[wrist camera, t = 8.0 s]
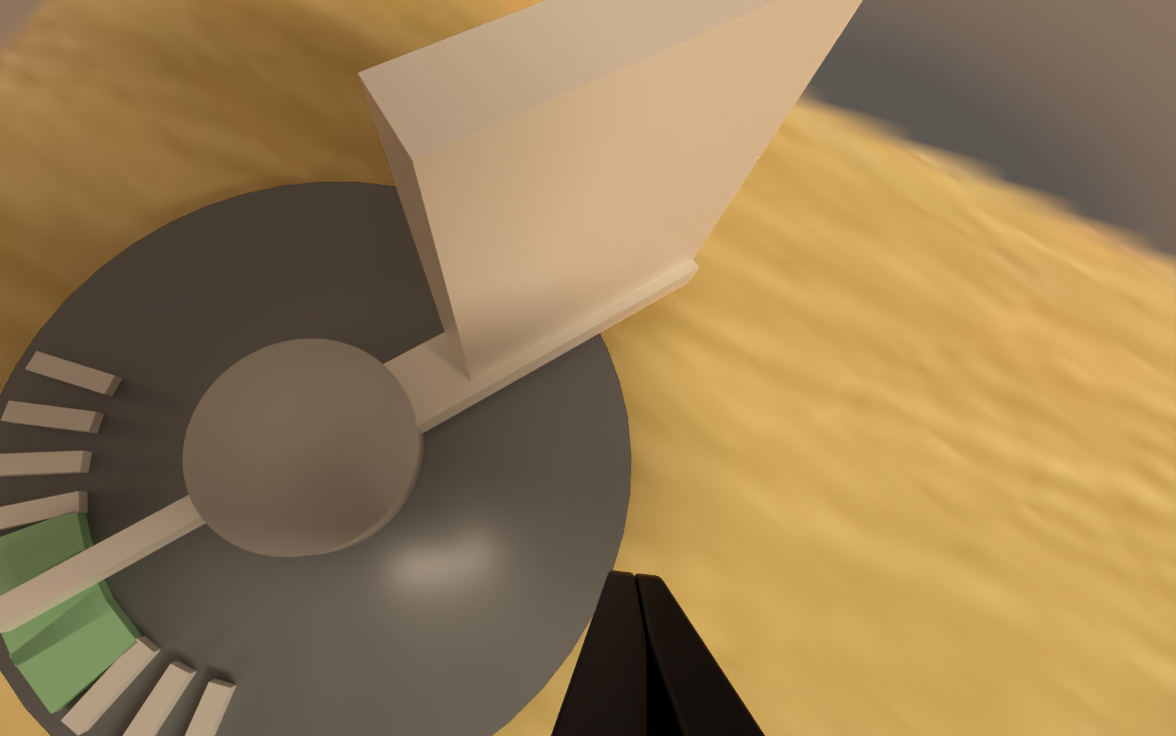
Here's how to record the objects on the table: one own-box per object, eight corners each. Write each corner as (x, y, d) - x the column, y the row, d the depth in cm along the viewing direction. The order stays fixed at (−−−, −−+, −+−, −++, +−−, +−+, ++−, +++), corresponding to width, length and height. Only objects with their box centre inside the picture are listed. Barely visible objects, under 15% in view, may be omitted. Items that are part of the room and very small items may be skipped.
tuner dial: (276, 979, 13) (255, 1020, 12) (-143, 452, 14) (-195, 446, 13) (736, 459, 17) (751, 455, 16) (374, 107, 19) (366, 82, 18)
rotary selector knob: (62, 721, 12) (-1446, 1347, 3) (-20, 517, 13) (-1396, 471, 4) (719, 326, 17) (989, 55, 7) (626, 193, 18) (759, -206, 8)
